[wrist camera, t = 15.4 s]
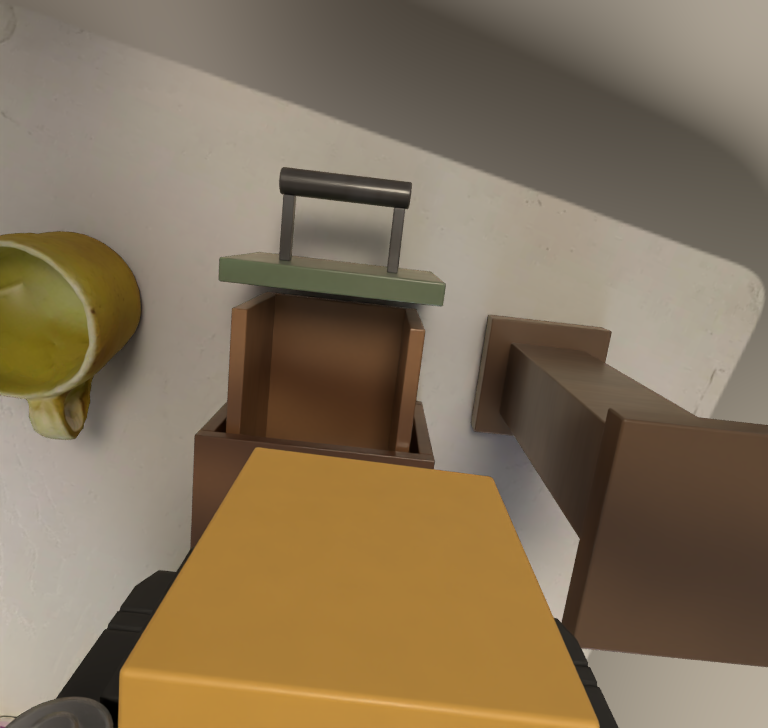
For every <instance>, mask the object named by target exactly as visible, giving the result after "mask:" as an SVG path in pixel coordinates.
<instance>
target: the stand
mask: <svg viewBox="0 0 768 728" xmlns="http://www.w3.org/2000/svg"><path fill="white" fill-rule="evenodd" d="M611 333H612V332H611V331H609V330H607V329H604V328H602V327H593V326H584V325H575V324H567V323H558V322H549V321H541V320H532V319H523V318H514V317H506V316H497V315H488V321H487V327H486V333H485V340H484V346H483V352H482V358H481V365H480V371H479V377H478V384H477V390H476V396H475V402H474V409H473V415H472V421H471V425H472V427H473V429H474V431H475V432H483V433H492V434H501V435H510V436H514V437H515V438H516V440H517V441H518V443H519V444H520V446H521V448H522V449H523V451H524V452H525V454H526V455H527V457H528V459H529V460H530V462H531V463H532V465H533V466H534V468H535V470H536V471H537V473H538V474H539V476H540V477H541V479H542V481H543V482H544V484H545V485H546V487H547V488H548V490H549V492H550V493H551V495H552V496H553V498H554V499H555V501H556V502H557V504H558V506H559V507H560V509H561V510H562V512H563V513H564V515H565V517H566V518H567V520H568V521H569V523H570V524H571V526H572V528H573V529H574V531H575V532H576V534H577V535H578V537H579V539H580V540H579V545H578V550H577V554H576V559H575V563H574V568H573V573H572V577H571V582H570V586H569V591H568V595H567V600H566V605H565V609H564V614H563V618H562V624H563V625H564V626H565V627H566V628H567V630H568V631H569V632H570V633H571V634H572V635H573V636H574V637H575V638H576V639H577V641H578V643H579V645H580V647H581V648H583V649H592V650H602V651H612V652H622V653H632V654H642V655H652V656H662V657H671V658H682V659H691V660H702V661H711V662H721V663H731V664H741V665H751V666H761V667H768V425H762V424H753V423H744V422H734V421H725V420H717V419H708V418H699V417H697V416H695V415H693V414H692V413H690V412H688V411H686V410H685V409H683V408H681V407H680V406H678V405H676V404H674V403H673V402H671V401H669V400H668V399H666V398H664V397H662V396H661V395H659V394H657V393H656V392H654V391H652V390H650V389H649V388H647V387H645V386H644V385H642V384H640V383H638V382H637V381H635V380H633V379H632V378H630V377H628V376H626V375H625V374H623V373H621V372H620V371H618V370H616V369H614V368H613V367H611V366H609V365H608V364H606V363H605V361H606V356H607V352H608V347H609V342H610V337H611Z"/></svg>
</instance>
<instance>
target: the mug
mask: <svg viewBox="0 0 768 728" xmlns="http://www.w3.org/2000/svg"><path fill="white" fill-rule="evenodd" d="M140 314H141V304H140V293H139V289H138V286H137V283H136V280H135V277H134V275H133V273H132V271H131V270H130V268H129V267H128V266H127V264H126V263H125V262H124V260H123V259H122V258H121V257H120V256H119V255H118V254H117V253H116V252H115V251H113V250H112V249H111V248H110V247H108V246H107V245H105V244H104V243H102V242H100V241H98V240H96V239H94V238H92V237H89V236H87V235H84V234H79V233H74V232H61V231H57V232H46V233H40V234H35V233H15V234H5V235H1V236H0V395H2V396H8V397H15V398H20V399H26V400H27V401H28V403H29V418H30V421H31V424H32V426H33V428H34V430H35V431H36V432H37V433H39V434H40V435H42V436H44V437H46V438H51V439H61V440H71V439H76V437H77V436H78V435H79V433H80V432H81V430H82V429H83V427H84V423H85V420H86V418H87V413H88V408H89V404H90V391H91V382H92V379H93V376H94V375H95V374H96V373H97V372H98V371H100V370H101V369H102V368H103V367H104V366H105V365H106V364H107V362H108V361H109V360H110V359H111V358H112V357H113V356H114V355H115V354H116V353H117V352H118V351H119V350H120V349H121V348H123V346H124V345H125V344H126V343H127V342H128V340H129V339H130V338H131V336H132V335H133V334H134V333H135V331H136V328H137V326H138V323H139V320H140Z"/></svg>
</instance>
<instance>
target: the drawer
mask: <svg viewBox="0 0 768 728" xmlns="http://www.w3.org/2000/svg"><path fill="white" fill-rule="evenodd" d="M279 188H280V193H281V194H284V195H283V210H282V224H281V238H280V253H279V254H273V253H264V252H256V253H249V254H241V255H234V256H226V257H220V259H219V281H223V282H231V283H240V284H249V285H258V286H266V287H275V288H284V289H292V290H301V291H310V292H319V293H327V294H336V295H345V296H353V297H362V298H371V299H380V300H388V301H397V302H406V303H415V304H423V305H432V306H443V301H444V294H445V287H446V284H445V283H444V282H443V281H442V280H440V279H439V278H438V277H437V276H435V275H434V274H433V273H432V272H428V271H419V270H411V269H402V268H398V265H399V257H400V248H401V240H402V231H403V223H404V215H405V209H408V208H409V205H410V197H411V189H412V183H411V182H404V181H395V180H387V179H379V178H370V177H362V176H353V175H345V174H337V173H328V172H320V171H312V170H303V169H295V168H287V167H283V168H282V169H281V172H280V179H279ZM296 196H301V197H309V198H318V199H326V200H335V201H343V202H351V203H360V204H368V205H377V206H385V207H394V213H393V222H392V230H391V239H390V248H389V257H388V265H387V267H385V266H376V265H368V264H359V263H350V262H342V261H333V260H325V259H316V258H307V257H299V256H292V245H293V232H294V218H295V205H296ZM424 337H425V329H424V327H423V324H422V322H421V319H420V317H419V314H418V312H417V309H412V308H403V307H395V306H386V305H377V304H368V303H360V302H351V301H342V300H333V299H325V298H316V297H307V296H299V295H290V294H281V293H272V292H266V293H264V294H261V295H259V296H257V297H255V298H253V299H251V300H249V301H247V302H245V303H242V304H240V305H238V306H236V307H234V308H232V320H231V340H230V359H229V379H228V398H227V418H226V433H231V434H240V435H249V436H259V437H268V438H277V439H286V440H296V441H305V442H314V443H323V444H332V445H342V446H351V447H360V448H369V449H378V450H388V451H397V452H406V453H409V450H410V442H411V435H412V427H413V420H414V412H415V405H416V397H417V390H418V382H419V375H420V367H421V360H422V352H423V345H424Z"/></svg>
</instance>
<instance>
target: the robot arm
mask: <svg viewBox="0 0 768 728" xmlns="http://www.w3.org/2000/svg"><path fill="white" fill-rule="evenodd" d="M194 548H195V546H194V547H192V548H191V550H190V551H189V553H188V554H187V556H186V557H185V559H184V561H183V562H182V564H181V566H180V567H179V569H178V571H177V572H170V571H161V570H158V571H157V572H155V573H154V574H152V575H151V576H150V577H148V578H147V579H145V580H144V581H142V582H141V583H139V584H138V585H136V586H135V587H134V589H133V590H132V592H131V593H130V594H129V596H128V597H127V599H126V600H125V602H124V603H123V604H122V606H121V608H120V611H117V613H116V614H115V616H114V617H113V619H112V620H111V621H110V623H109V624H108V628H107V629H105V630H104V631H103V633H102V634H101V635H100V637H99V638H98V640H97V641H96V643H95V644H94V645H93V647H92V648H91V650H90V651H89V652H88V654H87V655H86V657H85V658H84V660H83V661H82V662H81V664H80V665H79V667H78V668H77V669H76V671H75V672H74V674H73V675H72V677H71V678H70V679H69V681H68V682H67V684H66V685H65V686H64V688H63V689H62V691H61V692H60V694H59V695H58V696H57V698H56V699H54V700H50V701H47V702H44V703H41V704H39V705H37V706H35V707H33V708H31V709H29V710H27V711H26V712H24V713H22V714H21V715H19V716H18V717H17V718H15V719H14V720H12V721H11V722H10V723H9V724H8V725H7V726H6V727H5V728H118V712H119V676H120V670H121V668H122V666H123V665H124V663H125V661H126V660H127V658H128V657H129V655H130V653H131V652H132V650H133V648H134V647H135V645H136V643H137V642H138V640H139V638H140V637H141V635H142V633H143V632H144V630H145V629H146V627H147V625H148V624H149V622H150V620H151V619H152V617H153V615H154V614H155V612H156V610H157V609H158V607H159V605H160V604H161V602H162V601H163V599H164V597H165V596H166V594H167V592H168V591H169V589H170V587H171V586H172V584H173V582H174V581H175V579H176V577H177V576H178V574H179V573H180V571H181V569H182V568H183V566H184V564H185V563H186V561H187V559H188V558H189V556H190V554H191V553H192V551H193V549H194ZM554 620H555V622H556V625H557V627H558V629H559V632H560V634H561V636H562V639H563V641H564V643H565V645H566V648H567V650H568V652H569V655H570V657H571V659H572V661H573V664H574V666H575V668H576V671H577V673H578V675H579V678H580V680H581V682H582V684H583V687H584V689H585V691H586V694H587V696H588V698H589V701H590V703H591V705H592V707H593V710H594V712H595V714H596V717H597V719H598V721H599V726H600V727H599V728H618V726H617V724H616V721H615V720H614V717H613V715H612V713H611V711H610V709H609V707H608V705H607V702H606V700H605V698H604V696H603V694H602V692H601V690H600V688H599V687H597V681H596V679H595V677H594V675H593V673H592V671H591V668H590V667H588V662H587V660H586V658H585V656H584V653H583V651H582V649H581V647H580V645H579V643H578V641H577V639H576V638H575V637H574V636H573V635H572V634H571V633H570V632H569V631H568V630H567V628H566V627H565V626H564V625H563V624H562V623H561V622H560V621H559V620H558V619H557V618H554Z"/></svg>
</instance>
